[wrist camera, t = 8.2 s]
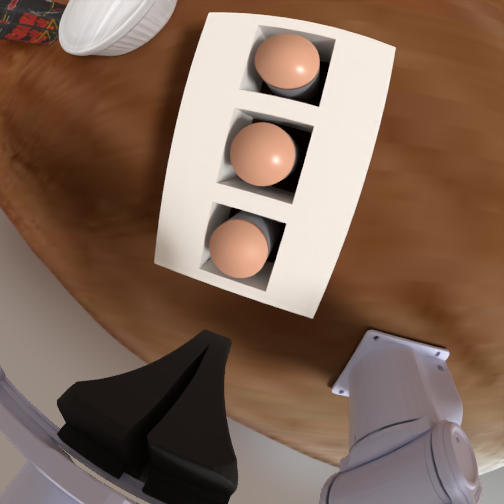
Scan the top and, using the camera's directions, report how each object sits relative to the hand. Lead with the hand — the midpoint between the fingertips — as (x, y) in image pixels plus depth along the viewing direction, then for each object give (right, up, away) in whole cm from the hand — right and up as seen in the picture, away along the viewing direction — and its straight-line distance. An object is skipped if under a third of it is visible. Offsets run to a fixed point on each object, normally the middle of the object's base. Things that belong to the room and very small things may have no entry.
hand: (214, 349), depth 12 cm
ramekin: (-9, +26, +4) cm, 28 cm away
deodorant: (-23, +33, +5) cm, 40 cm away
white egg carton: (+3, +11, +6) cm, 13 cm away
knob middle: (+3, +11, +6) cm, 13 cm away
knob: (+5, +16, +4) cm, 17 cm away
